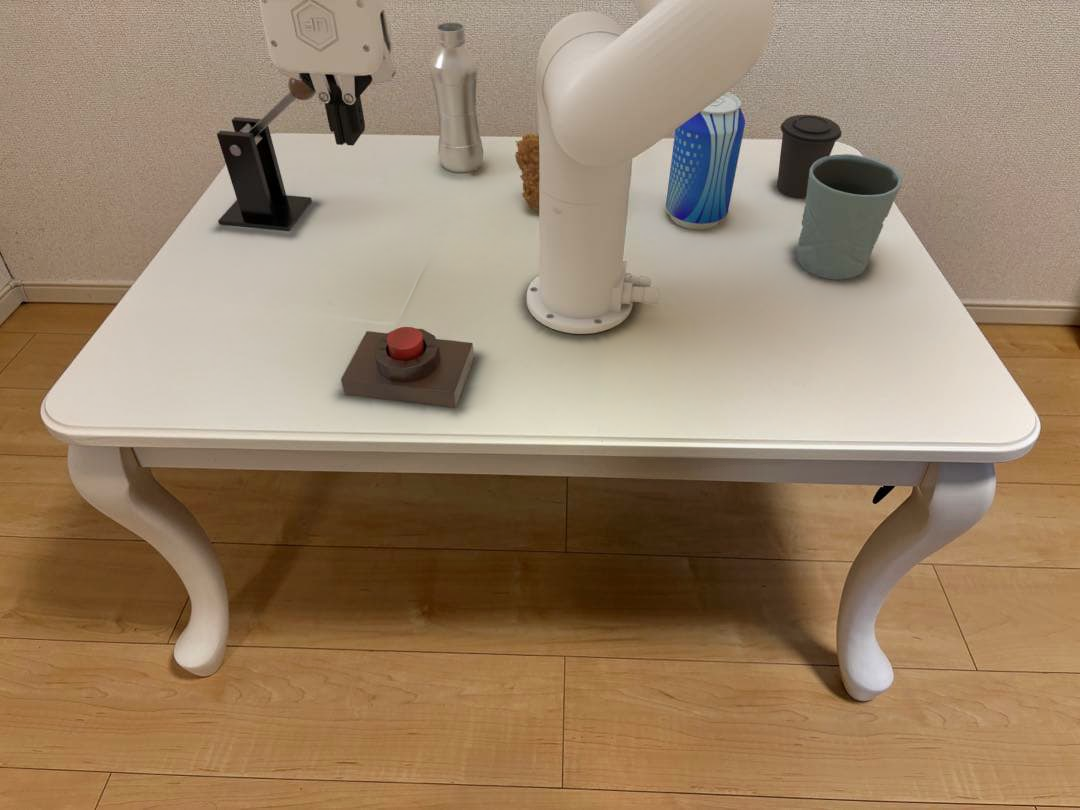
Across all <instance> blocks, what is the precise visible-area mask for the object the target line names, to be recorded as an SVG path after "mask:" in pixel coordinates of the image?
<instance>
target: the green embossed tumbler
mask: <svg viewBox="0 0 1080 810" xmlns="http://www.w3.org/2000/svg"><path fill="white" fill-rule="evenodd" d="M902 183H903V180H902V177H901V175H900V173H899V171H898V170H896V169H895V168H894V167H892V166H891V165H890V164H888V163H886V162H884V161H882V160H879V159H876V158H874V157H873V158H872V157H867V156H863V155H858V154H851V153H849V154H848V153H844V154H843V153H842V154H832V155H831V154H830V156H826V157H823V158H821V159H819V160H817V161H816V162H814V163H813V165H812V166H811V168H810V171H809V179H808V186H807V195H806V198H804V199H805V200H804V202H805V206H804V209H803V214H802V219H801V226H802V228H801V229H800V230H801V231H800V233H799V237H798V238H799V239H798V244H797V249H796V260H797V263H798V264H799V266H800V267H801V268H802V269H804V270H805V271H807V272H808V273H809V274H811V275H814V276H816V277H820V278H823V279H826V280H833V281H844V280H850V279H853V278H856V277H858V276H859V275H861V274H863V272H864V271H865V270H866V267H867V265H868V263H869V261H870V258H871V256H872V252H873V250H874V248H875V245H876V244H877V241H878V240H879V237H880V234H881V232H882V230H883V228H884V222H885V220H886V218H888V215H889V213H890V211H891V208H892V206H893V204H894V202H895V200H896V198H897V196H898V193H899V192H900V189H901V186H902Z"/></svg>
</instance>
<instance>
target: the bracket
mask: <svg viewBox="0 0 1080 810" xmlns="http://www.w3.org/2000/svg"><path fill="white" fill-rule="evenodd" d="M261 119H262V118H252V117H242V116H241V117H239V116H234V117H233V118H232V119H231V124H232V127H233V131H232V130H231V131H228V130H219V131H218V132H217V133H216V137H217V140H218V143H219V146H220V150H221V153H222V156H223V159H224V162H225V165H226V168H227V172H228V176H229V178H230V181H231V185H232V189H233V191H234V195H235V198H236V200H235V201H234V203H233V204H232V205H231V206H229V208H228V209H227V210H226V211H225V212H224V213H223V214H222V215H221V217H220V218H219V219H218V220H217V222H218V225H220V226H221V225H222V226H229V227H238V228H239V227H240V228H251V229H262V230H271V231H283V232H290V231H292V229H293V227H294V226H295V224H296V223H297V221H298V220H299V219H300V218H301V217H302V215H303V214H304V213H305V211H306V210H307V209H308V207H309V206H310V205H311V203H312V202H313V199H312V197H311V196H299V195H289V194H287V192H286V189H285V185H284V180H283V176H282V173H281V170H280V166H279V161H278V158H277V154H276V150H275V147H274V143H273V139H272V135H271V130H270V127H269V125H268V126H267V127H266V128H265V129H264V130H263V131H262V132H260V133H259V134H260V135H261V137H262V138H263V139H262V140H261V141H260V142H259V143H258V144H257V145H256V143H255V139H254V135H253V133H243V132H239V131H240V130H242V129H243V128H244V127H245V126H246V125H247V124H248V123H249V124H250V125H251V126H252V127H254V126H255V125H256V124H257V123H258V122H259V121H260V120H261Z"/></svg>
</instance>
